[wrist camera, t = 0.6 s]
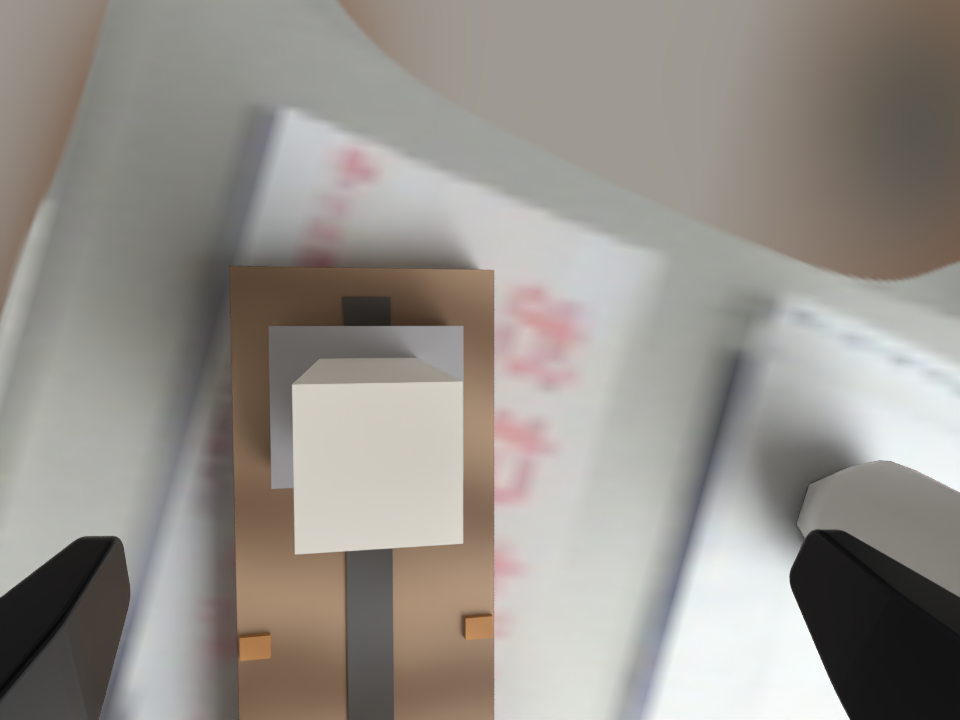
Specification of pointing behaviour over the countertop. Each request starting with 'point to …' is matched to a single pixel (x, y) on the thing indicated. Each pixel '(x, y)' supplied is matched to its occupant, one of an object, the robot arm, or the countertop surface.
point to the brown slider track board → (364, 573)
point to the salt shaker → (892, 516)
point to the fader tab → (369, 434)
